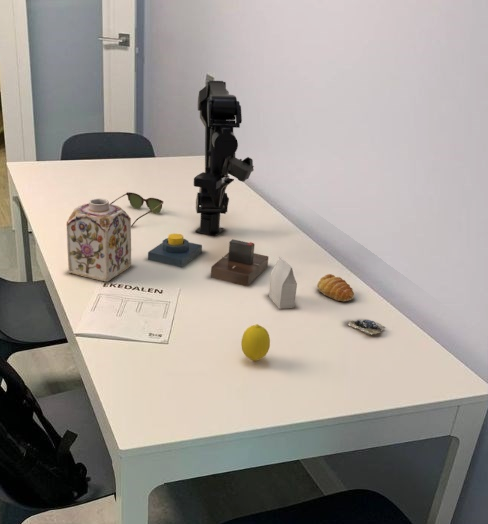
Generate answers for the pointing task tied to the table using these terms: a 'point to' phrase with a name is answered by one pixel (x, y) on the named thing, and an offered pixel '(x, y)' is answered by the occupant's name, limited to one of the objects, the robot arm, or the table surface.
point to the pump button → (175, 239)
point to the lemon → (255, 342)
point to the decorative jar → (99, 240)
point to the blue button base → (175, 253)
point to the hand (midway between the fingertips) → (217, 206)
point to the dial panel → (239, 270)
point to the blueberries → (367, 326)
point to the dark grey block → (241, 251)
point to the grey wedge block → (283, 285)
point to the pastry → (335, 288)
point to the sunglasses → (138, 201)
